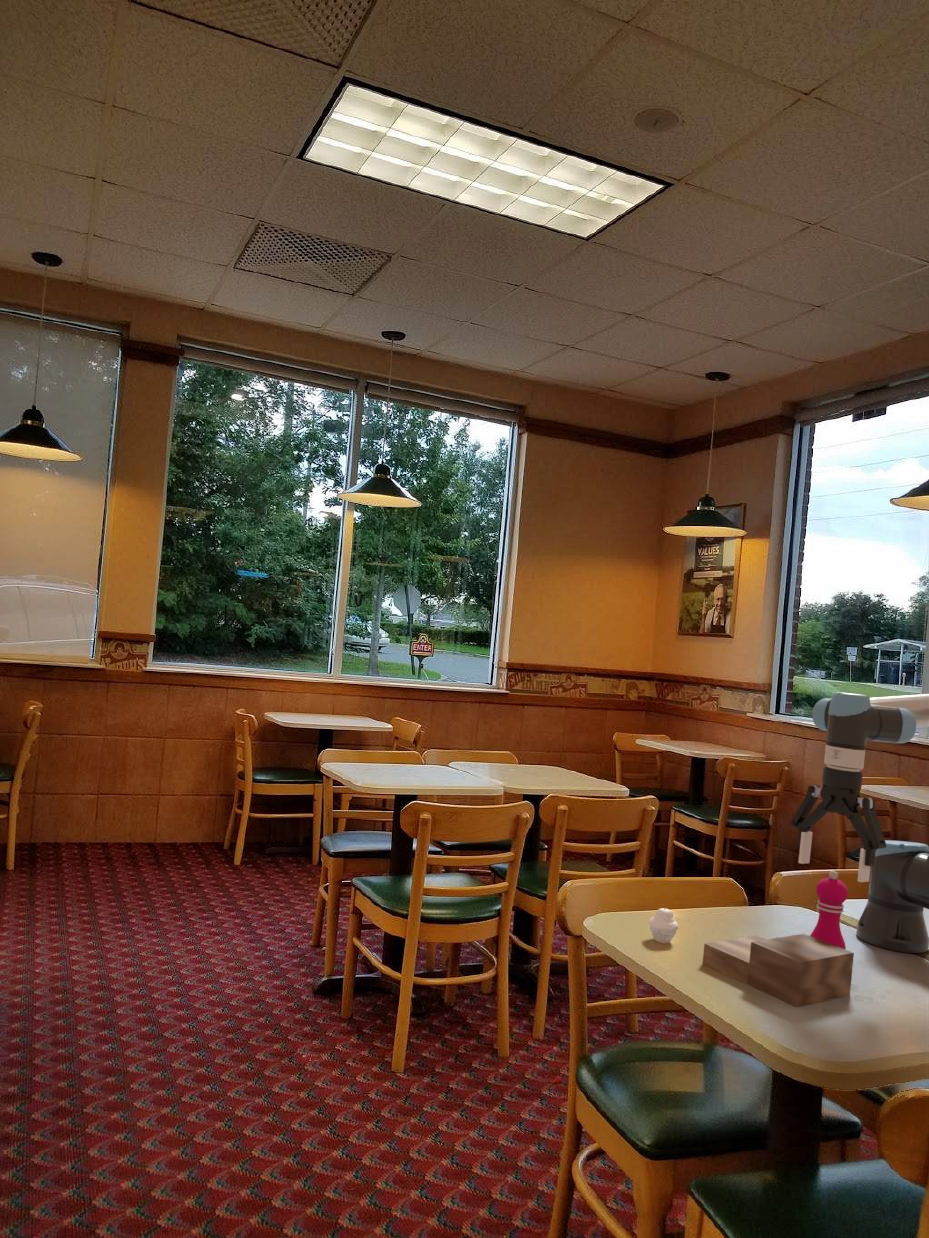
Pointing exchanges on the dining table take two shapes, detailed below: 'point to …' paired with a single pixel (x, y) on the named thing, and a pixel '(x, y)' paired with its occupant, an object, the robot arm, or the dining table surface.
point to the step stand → (785, 966)
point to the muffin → (663, 925)
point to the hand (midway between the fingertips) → (832, 872)
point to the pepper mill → (830, 910)
